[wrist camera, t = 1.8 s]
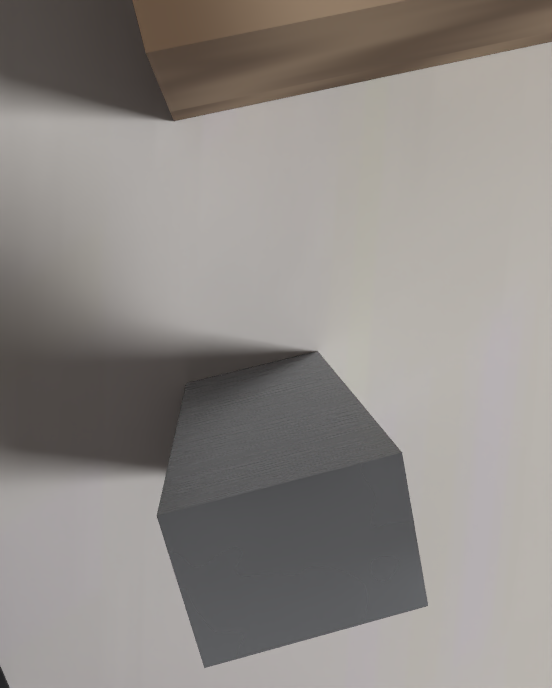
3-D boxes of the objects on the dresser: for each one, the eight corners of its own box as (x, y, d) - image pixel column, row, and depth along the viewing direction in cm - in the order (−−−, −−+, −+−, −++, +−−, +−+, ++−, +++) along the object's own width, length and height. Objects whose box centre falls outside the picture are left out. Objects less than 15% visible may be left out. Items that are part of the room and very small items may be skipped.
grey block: (237, 568, 16) (250, 816, 9) (186, 383, 14) (156, 515, 8) (355, 537, 16) (453, 755, 9) (317, 351, 15) (401, 452, 8)
